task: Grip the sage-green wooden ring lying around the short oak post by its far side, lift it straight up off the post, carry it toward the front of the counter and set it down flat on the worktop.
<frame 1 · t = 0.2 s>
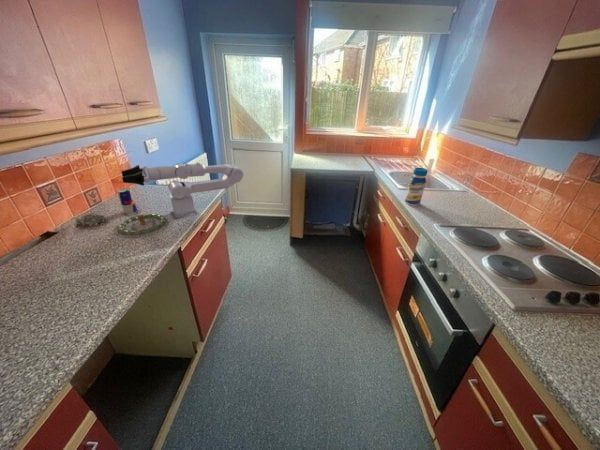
hand: (122, 176, 102), 21 cm above the countertop, tool horizontal, fingers open, 7 cm apart
beverage bottle: (412, 203, 143), on the countertop
ring stand: (143, 226, 109), on the countertop
egg carton: (92, 224, 110), on the countertop
ring: (143, 224, 109), point 1 cm above the countertop
energy drink: (131, 213, 121), on the countertop
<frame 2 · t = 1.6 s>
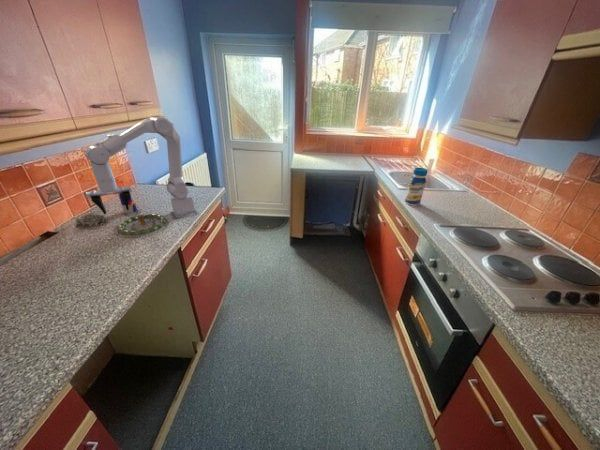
hand: (116, 211, 101), 9 cm above the countertop, tool pointing down, fingers open, 7 cm apart
nothing on the countertop moved.
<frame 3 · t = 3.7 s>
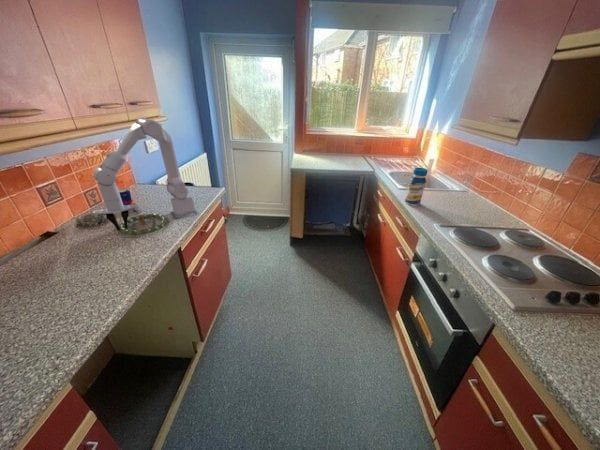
hand: (122, 228, 105), 1 cm above the countertop, tool pointing down, fingers closed on ring, 2 cm apart
ring: (144, 224, 109), point 1 cm above the countertop, touching gripper
everything else where it was.
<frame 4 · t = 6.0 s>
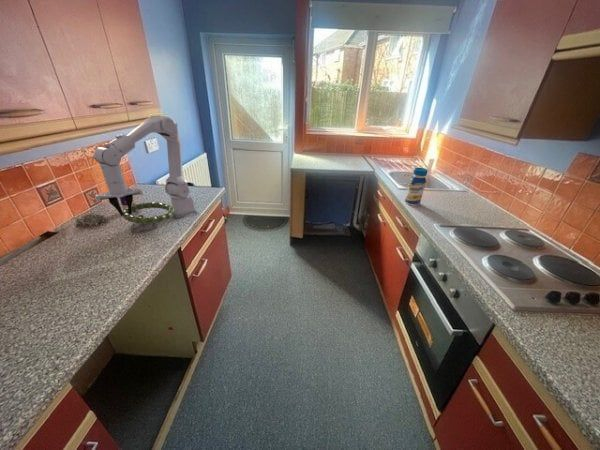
hand: (126, 214, 98), 10 cm above the countertop, tool pointing down, fingers closed on ring, 2 cm apart
ring: (150, 212, 103), point 9 cm above the countertop, tilted 7°, touching gripper
everything else where it was.
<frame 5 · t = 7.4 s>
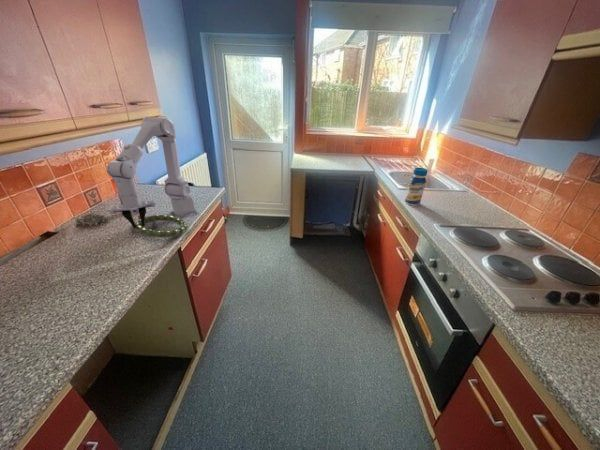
hand: (139, 226, 97), 6 cm above the countertop, tool pointing down, fingers closed on ring, 2 cm apart
ring: (162, 225, 102), point 5 cm above the countertop, tilted 12°, touching gripper
everything else where it was.
when the fingers open (3 cm above the countertop, at t = 8.4 s): ring stays where it is, resting on ring stand.
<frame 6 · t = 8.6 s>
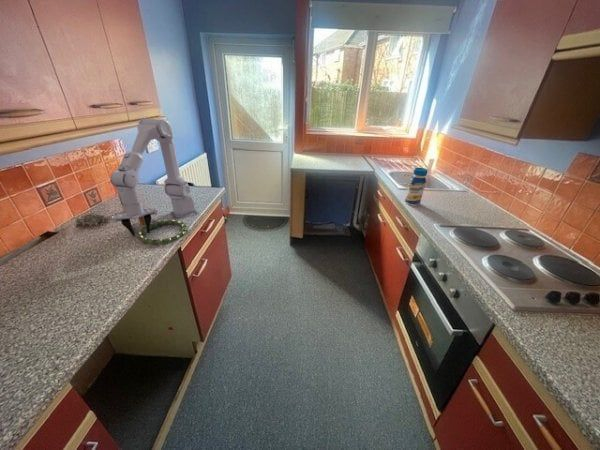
hand: (141, 233, 99), 3 cm above the countertop, tool pointing down, fingers open, 4 cm apart
ring: (164, 231, 103), point 2 cm above the countertop, touching ring stand
everything else where it was.
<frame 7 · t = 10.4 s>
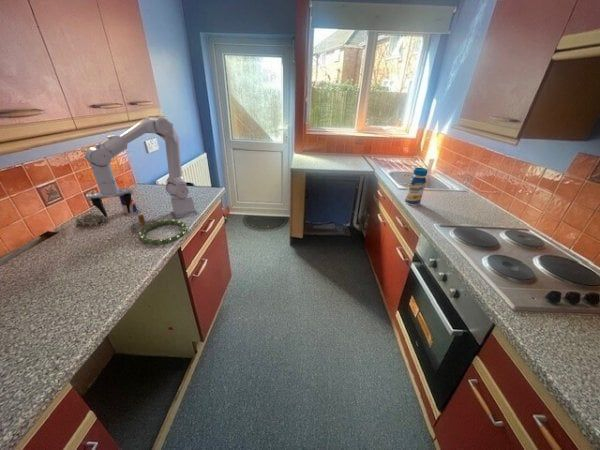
hand: (117, 214, 99), 9 cm above the countertop, tool pointing down, fingers open, 7 cm apart
nothing on the countertop moved.
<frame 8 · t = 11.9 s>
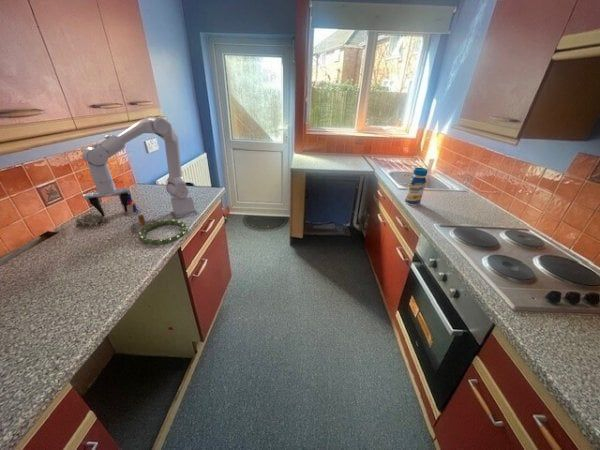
hand: (115, 213, 100), 9 cm above the countertop, tool pointing down, fingers open, 7 cm apart
nothing on the countertop moved.
at the end: ring inside the target area (0.3 cm from its centre), point 1.6 cm above the countertop; the gripper is holding nothing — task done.
